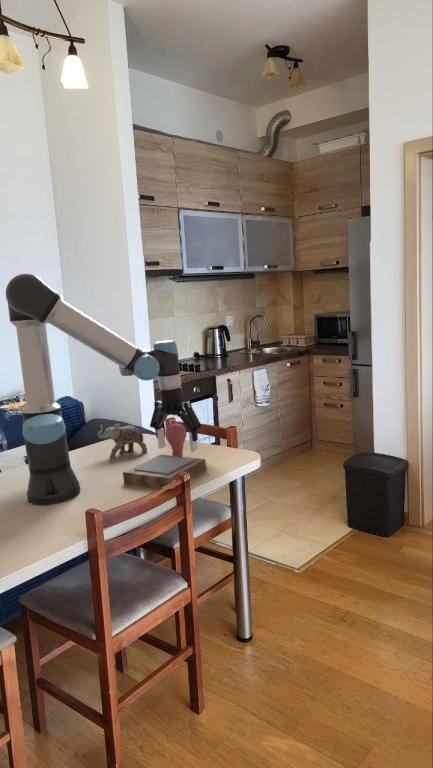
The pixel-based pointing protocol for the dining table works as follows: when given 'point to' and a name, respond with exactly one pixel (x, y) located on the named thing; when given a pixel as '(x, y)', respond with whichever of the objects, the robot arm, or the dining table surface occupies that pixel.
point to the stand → (163, 470)
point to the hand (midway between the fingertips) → (178, 448)
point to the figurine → (123, 438)
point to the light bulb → (176, 438)
